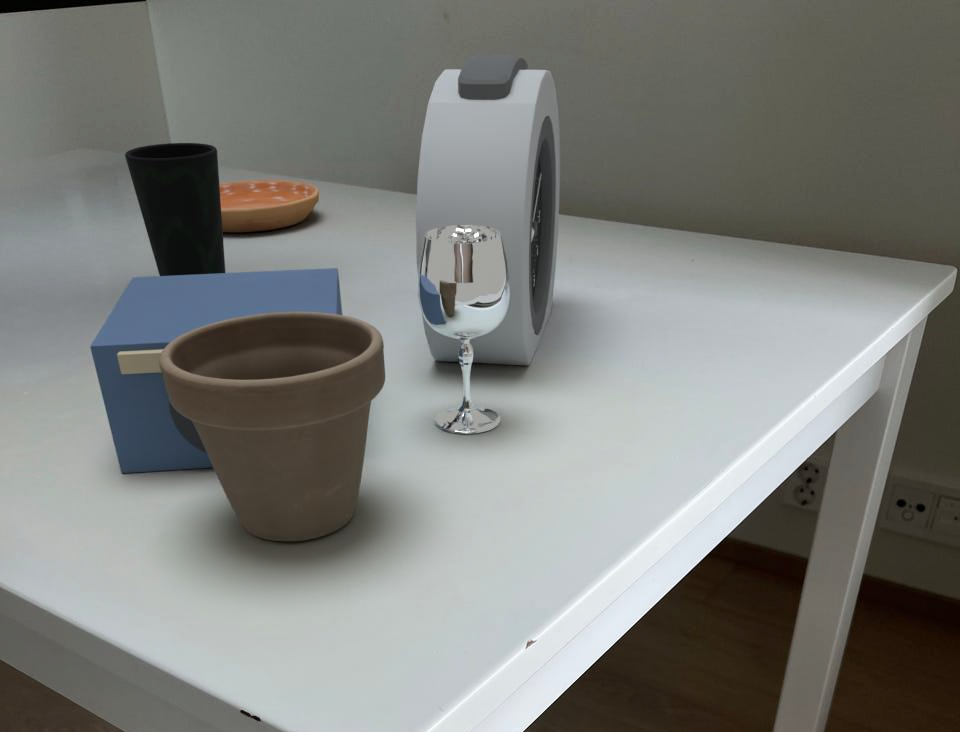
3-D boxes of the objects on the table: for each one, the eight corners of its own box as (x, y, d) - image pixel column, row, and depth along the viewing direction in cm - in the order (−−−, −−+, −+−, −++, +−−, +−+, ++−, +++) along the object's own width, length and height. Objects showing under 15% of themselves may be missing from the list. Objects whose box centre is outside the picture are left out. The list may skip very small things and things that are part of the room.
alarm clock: (521, 385, 72) (524, 73, 61) (421, 380, 74) (406, 72, 62) (556, 297, 89) (564, 40, 78) (475, 294, 91) (470, 40, 79)
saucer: (156, 221, 116) (150, 193, 114) (273, 199, 125) (269, 173, 123) (227, 245, 106) (222, 215, 104) (348, 220, 115) (346, 192, 113)
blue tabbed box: (119, 477, 61) (87, 348, 57) (156, 389, 73) (132, 277, 68) (348, 463, 62) (336, 336, 58) (348, 378, 74) (337, 267, 69)
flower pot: (194, 483, 60) (160, 316, 55) (380, 461, 62) (366, 298, 57) (193, 581, 51) (153, 393, 45) (412, 552, 53) (400, 369, 47)
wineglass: (446, 399, 70) (439, 219, 63) (522, 410, 69) (524, 226, 62) (410, 430, 66) (399, 241, 59) (491, 443, 64) (488, 249, 57)
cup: (232, 304, 89) (209, 157, 82) (145, 307, 89) (115, 160, 82) (242, 279, 96) (222, 141, 89) (162, 282, 95) (135, 144, 88)
